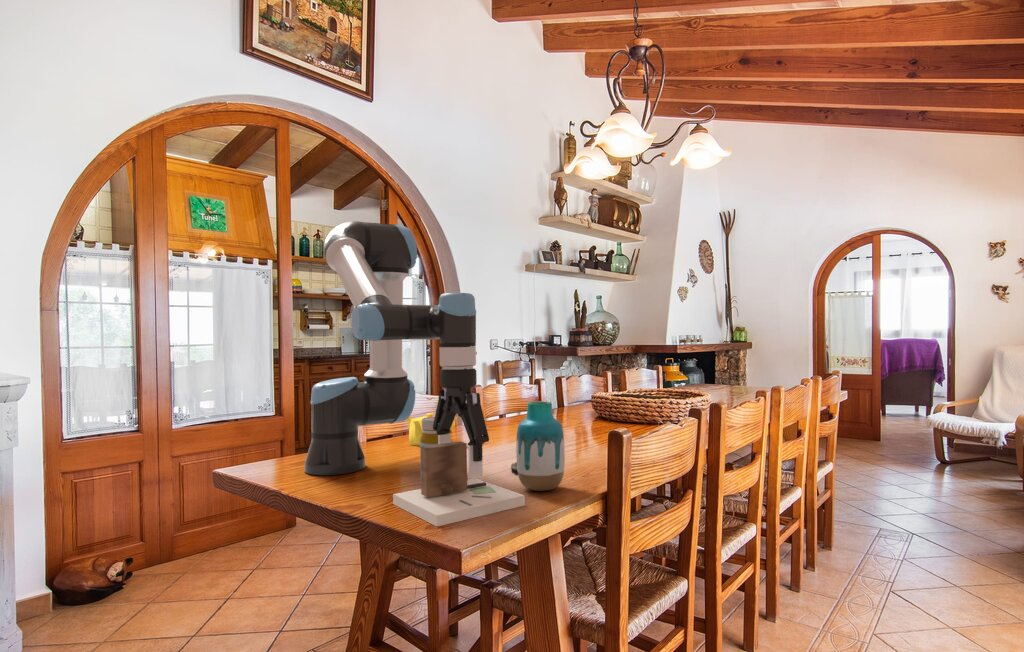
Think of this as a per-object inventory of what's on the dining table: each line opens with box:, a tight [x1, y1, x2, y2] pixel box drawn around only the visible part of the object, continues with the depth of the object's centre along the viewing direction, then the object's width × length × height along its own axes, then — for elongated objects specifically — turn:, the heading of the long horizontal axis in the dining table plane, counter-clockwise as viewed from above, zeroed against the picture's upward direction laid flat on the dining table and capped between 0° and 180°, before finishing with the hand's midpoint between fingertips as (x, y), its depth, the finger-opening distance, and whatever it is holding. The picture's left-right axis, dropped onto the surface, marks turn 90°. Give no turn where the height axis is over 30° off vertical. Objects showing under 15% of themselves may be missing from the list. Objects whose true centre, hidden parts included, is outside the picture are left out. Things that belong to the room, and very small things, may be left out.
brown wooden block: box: [420, 441, 486, 497], centre depth 118 cm, size 14×4×10 cm, turn 122°
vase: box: [515, 400, 566, 492], centre depth 126 cm, size 11×11×19 cm
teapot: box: [406, 412, 458, 447], centre depth 183 cm, size 15×14×10 cm
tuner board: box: [392, 478, 526, 527], centre depth 116 cm, size 18×20×2 cm
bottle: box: [419, 416, 449, 458], centre depth 133 cm, size 7×7×15 cm
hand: (459, 471), depth 118 cm, fingers open, 13 cm apart
